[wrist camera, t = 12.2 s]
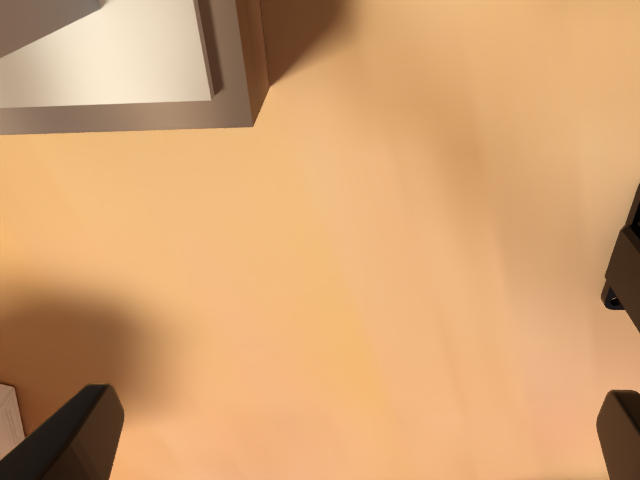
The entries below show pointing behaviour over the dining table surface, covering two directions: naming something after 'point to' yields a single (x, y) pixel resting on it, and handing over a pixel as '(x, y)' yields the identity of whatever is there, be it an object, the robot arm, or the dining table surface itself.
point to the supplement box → (9, 420)
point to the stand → (140, 70)
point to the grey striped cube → (37, 19)
